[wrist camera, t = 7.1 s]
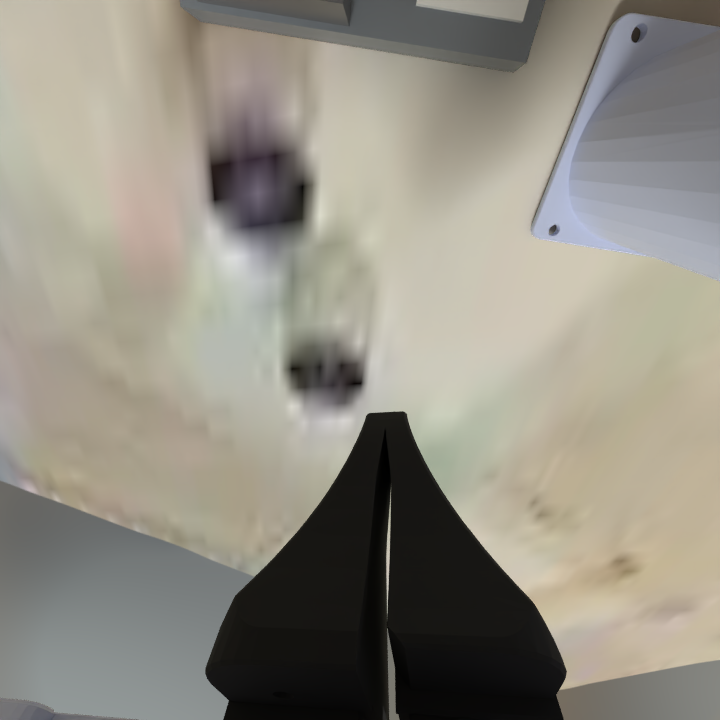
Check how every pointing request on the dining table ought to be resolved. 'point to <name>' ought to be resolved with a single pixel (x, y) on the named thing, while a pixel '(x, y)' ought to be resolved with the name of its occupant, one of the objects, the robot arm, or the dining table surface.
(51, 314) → the dining table surface
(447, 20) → the button board
